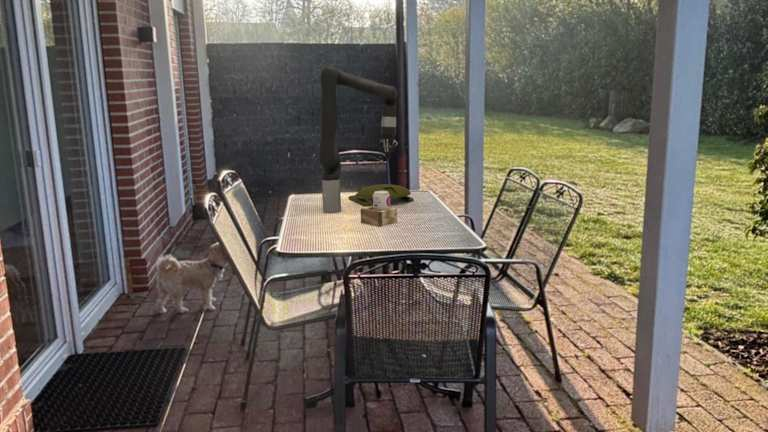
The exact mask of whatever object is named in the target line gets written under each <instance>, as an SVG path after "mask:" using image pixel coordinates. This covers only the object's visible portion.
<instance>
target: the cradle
mask: <svg viewBox="0 0 768 432" xmlns="http://www.w3.org/2000/svg"><path fill="white" fill-rule="evenodd" d="M360 223H361V224H365V225H369V226H375V227H380V228H381V227H385V226H388V225H392V224H396V223H398V210H397V207H393V208H392V207H391V208H390V209H387V210H383V211H375V210H373V205H371V206H366V207H363V208H360Z"/></svg>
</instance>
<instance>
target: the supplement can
mask: <svg viewBox="0 0 768 432" xmlns="http://www.w3.org/2000/svg"><path fill="white" fill-rule="evenodd" d="M372 206H373V210H375V211H383V210H387V209H391V199H390V194H389V192H388V191H375V192H374V194H373V199H372Z"/></svg>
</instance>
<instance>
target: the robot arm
mask: <svg viewBox="0 0 768 432" xmlns="http://www.w3.org/2000/svg"><path fill="white" fill-rule="evenodd" d="M319 76H320V86H321V102H320V146H319V154H318V155H319V156H318V159H319V163H320V165H321V166H322V167H324V168H323V172H322V175H321V180H322V181H321V182H322V194H321V196H322V200H321V201H322V212H323V213H324V214H336V213H339V212H342V200H341V197H342V196H341V181H340V180H341V179H340V178H341V177H340V176H341V171H342V170H341V168H342V167H341V166H342V165H341V164H342V163H341V154H340V152H339V151H338V150H337V149H335V138H336V135H337V132H338V127H339V120H340V117H339V116H340V115H339V104H338V100H337V86H344V87H348V88H350V89H354V90H356V91H359V92H361V93H364V94H368V95H371V96H374V97H379V98H381V99H383V106H382V113H381V114H382V115H381V123H380V124H381V128H380V129H381V130H380V132H381V139H380V140H378V141H377V143H378V145H379V147H380V149H381V151H384V159H385V160H390V159H391V158H392V153H393V152H395V149H396V148H397V147H398V146H399V142H398V141H396V135H397V102H398V91H397V88H396V87H395V86H393V85H388V84H384V83H380V82H378V81H375V80H372V79H368V78H365V77H360V76H357V75H353V74H350V73H347V72H345V71H343V70H341V69H338V68H337V67H335V66H331V65H329V66H324V68H323V69H322V70H321V71H320V75H319Z"/></svg>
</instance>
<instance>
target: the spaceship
mask: <svg viewBox="0 0 768 432" xmlns="http://www.w3.org/2000/svg"><path fill="white" fill-rule="evenodd" d="M375 191H388V192H389V194H390V200H391V199H398V198H399V200H401V201H403V202H406V201H407V203H412V202H414V201H415V200H414V198H413V197H411V196H410V195H411V194H412V193H411V191H410V189H408V188H407V187H405V186H402V185H397V184H388V183H385V184H384V183H383V184H382V183H381V184H374V185H369V186H361V187H359V188H358V190H357V192H356V193H355V194H354V195H352V194H351V195H350V196H348V197H347V198H348V200H349V201H352V202H355V203H356V204H359V205H361V206H363V207H372V206H373V203H372V202H370V201H368V200H370V199H371V200H373V194H374V192H375ZM366 199H368V200H366ZM411 201H412V202H411Z"/></svg>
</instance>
